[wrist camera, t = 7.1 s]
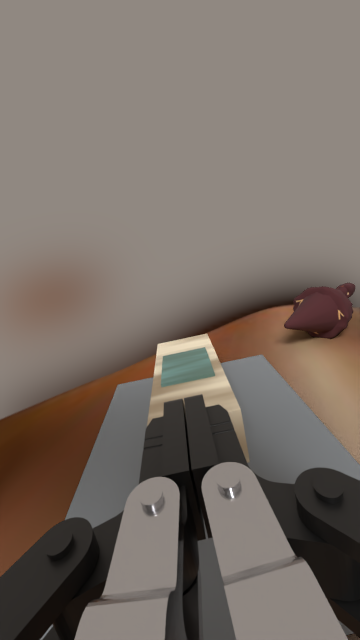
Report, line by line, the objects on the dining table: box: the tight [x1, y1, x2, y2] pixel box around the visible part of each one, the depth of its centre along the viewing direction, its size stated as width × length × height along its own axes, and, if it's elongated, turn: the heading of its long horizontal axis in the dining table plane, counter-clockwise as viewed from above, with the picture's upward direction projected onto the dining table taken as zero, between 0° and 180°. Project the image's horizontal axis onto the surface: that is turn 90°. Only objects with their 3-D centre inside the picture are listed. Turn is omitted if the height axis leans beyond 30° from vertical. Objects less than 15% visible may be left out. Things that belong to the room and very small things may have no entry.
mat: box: [40, 355, 360, 640], centre depth 22 cm, size 24×18×1 cm
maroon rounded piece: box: [284, 283, 355, 339], centre depth 36 cm, size 7×7×15 cm
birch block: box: [147, 334, 250, 462], centre depth 25 cm, size 4×6×16 cm
